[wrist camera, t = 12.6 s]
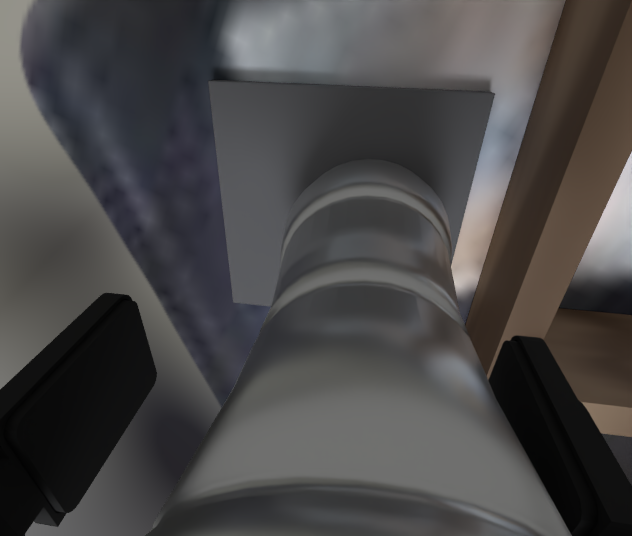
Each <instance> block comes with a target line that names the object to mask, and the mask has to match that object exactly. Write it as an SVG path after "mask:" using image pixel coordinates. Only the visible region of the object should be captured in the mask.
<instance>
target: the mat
mask: <svg viewBox="0 0 632 536" xmlns="http://www.w3.org/2000/svg"><path fill="white" fill-rule="evenodd" d="M208 84H209V92H210V101H211V110H212V119H213V128H214V136H215V145H216V154H217V163H218V172H219V180H220V189H221V198H222V207H223V216H224V224H225V233H226V242H227V251H228V259H229V268H230V277H231V286H232V295H233V302H234V303H244V304H253V305H263V306H271V305H272V301H273V297H274V293H275V289H276V285H277V280H278V276H279V272H280V268H281V245H282V239H283V233H284V229H285V225H286V220H287V217H288V215H289V213H290V211H291V208H292V206H293V204H294V203H295V201H296V200H297V199H298V197H299V196H300V195H301V194H302V192H303V191H304V190H305V189H306V188H307V187H308V186H310V185H311V184H312V183H313V182H314V181H315V180H317V179H318V178H319V177H320V176H321V175H323V174H324V173H325V172H327V171H329V170H331V169H332V168H334V167H336V166H338V165H341V164H344V163H347V162H350V161H355V160H363V159H376V160H385V161H388V162H392V163H395V164H399V165H400V166H402V167H404V168H406V169H408V170H410V171H412V172H413V173H414V174H416V175H417V176H418V177H419V178H421V179H422V180H423V181H424V182H425V183H426V184H428V185H429V186H430V187H431V188H432V189H433V190H434V192H435V193H436V195H437V196H438V197H439V199H440V200H441V201H442V204H443V206H444V208H445V211H446V213H447V216H448V221H449V227H450V234H451V243H452V258H451V264H452V260H453V256H454V252H455V248H456V244H457V240H458V236H459V232H460V228H461V224H462V221H463V217H464V213H465V209H466V205H467V201H468V197H469V193H470V189H471V185H472V181H473V177H474V174H475V170H476V166H477V162H478V158H479V154H480V150H481V146H482V142H483V138H484V134H485V130H486V127H487V123H488V119H489V115H490V111H491V107H492V103H493V99H494V95H495V93H492V92H485V91H461V90H438V89H415V88H391V87H368V86H345V85H321V84H298V83H275V82H252V81H228V80H211V81H208Z"/></svg>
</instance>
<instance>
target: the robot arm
mask: <svg viewBox="0 0 632 536" xmlns="http://www.w3.org/2000/svg"><path fill="white" fill-rule="evenodd" d="M156 377H157V372H156V368H155V365H154V361H153V358H152V354H151V351H150V347H149V344H148V340H147V337H146V333H145V330H144V326H143V323H142V320H141V316H140V312H139V309H138V306H137V303H136V302H135V301H132V299H131V297H130V296H129V295H124V294H114V293H104V294H102V295H101V296H100V297H99V298H98V299H97V300H96V301H94V302H93V303H92V304H91V305H90V306H89V307H88V308H87V309H86V310H85V311H84V312H83V313H82V314H81V315H80V316H78V317H77V319H75V320H74V321H73V322H72V323H71V324H70V325H69V326H68V327H67V328H66V329H65V330H64V331H62V332H61V333H60V334H59V335H58V336H57V337H56V338H55V339H54V340H53V341H52V342H51V343H50V344H48V345H47V346H46V347H45V348H44V349H43V350H42V351H41V352H40V353H39V354H38V355H37V356H36V357H35V358H34V359H32V360H31V361H30V362H29V364H27V365H26V366H25V367H24V368H23V369H22V370H21V371H20V372H19V373H18V374H17V375H16V376H14V377H13V378H12V379H11V380H10V381H9V382H8V383H7V384H6V385H5V386H4V387H3V388H2V389H0V536H25V533H26V531H27V530H28V528H29V527H30V526H31V524H32V523H33V521H34V522H35V523H39V524H45V525H50V526H56V527H58V526H59V524H60V522H61V521H62V520H63V518H64V516H65V515H66V513H69V512H71V511H73V509H75V508H76V506H77V505H78V504H79V502H80V501H81V499H82V497H83V496H84V494H85V493H86V491H87V490H88V488H89V487H90V485H91V483H92V482H93V480H94V479H95V477H96V476H97V474H98V472H99V471H100V469H101V467H102V466H103V465H104V463H105V461H106V460H107V458H108V457H109V455H110V454H111V452H112V450H113V449H114V447H115V446H116V444H117V443H118V441H119V439H120V438H121V436H122V435H123V433H124V431H125V430H126V428H127V427H128V425H129V424H130V422H131V420H132V419H133V417H134V416H135V414H136V413H137V411H138V409H139V408H140V406H141V405H142V403H143V401H144V400H145V398H146V397H147V395H148V394H149V392H150V390H151V389H152V387H153V386H154V384H155V381H156ZM488 381H489V383H490V386H491V388H492V391H493V393H494V395H495V398H496V400H497V402H498V403H499V405H500V407H501V409H502V411H503V412H504V414H505V416H506V418H507V420H508V421H509V423H510V425H511V427H512V429H513V430H514V432H515V434H516V436H517V438H518V439H519V441H520V443H521V445H522V447H523V448H524V450H525V452H526V454H527V456H528V457H529V459H530V461H531V463H532V465H533V466H534V468H535V470H536V472H537V474H538V476H539V477H540V479H541V481H542V483H543V485H544V486H545V488H546V490H547V492H548V494H549V495H550V497H551V499H552V501H553V503H554V504H555V506H556V508H557V510H558V512H559V513H560V515H561V517H562V519H563V521H564V522H565V524H566V526H567V528H568V530H569V531H570V533H571V535H572V536H632V486H631V484H630V482H629V481H628V479H627V477H626V475H625V474H624V472H623V470H622V469H621V467H620V465H619V463H618V462H617V460H616V458H615V457H614V455H613V453H612V451H611V450H610V448H609V446H608V444H607V443H606V441H605V439H604V438H603V436H602V434H601V432H600V431H599V429H598V427H597V426H596V424H595V422H594V420H593V419H592V417H591V415H590V413H589V412H588V410H587V409H586V407H585V406H584V405H583V403H582V402H580V401H579V400H578V399H577V397H576V395H575V393H574V392H573V390H572V388H571V386H570V385H569V383H568V381H567V379H566V378H565V376H564V374H563V372H562V371H561V369H560V367H559V365H558V364H557V362H556V360H555V358H554V357H553V355H552V353H551V351H550V350H549V348H548V346H547V344H546V343H545V341H544V340H543V339H542V338H538V337H528V336H519V335H515V336H513V337H512V338H511V340H510V341H508V340H506V341H504V342H503V344H502V347H501V349H500V352H499V354H498V357H497V359H496V362H495V365H494V367H493V370H492V372H491V375H490V377H489V380H488Z"/></svg>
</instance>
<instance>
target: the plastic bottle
mask: <svg viewBox="0 0 632 536" xmlns="http://www.w3.org/2000/svg"><path fill="white" fill-rule="evenodd" d="M451 258H452V243H451V234H450V227H449V221H448V216H447V213H446V211H445V208H444V206H443V204H442V201H441V200H440V199H439V197H438V196H437V195H436V193H435V192H434V190H433V189H432V188H431V187H430V186H429V185H428V184H426V183H425V182H424V181H423V180H422V179H421V178H419V177H418V176H417V175H416V174H414V173H413V172H412V171H410V170H408V169H406V168H404V167H402V166H400V165H399V164H395V163H392V162H388V161H385V160H376V159H363V160H355V161H350V162H347V163H344V164H341V165H338V166H336V167H334V168H332V169H331V170H329V171H327V172H325V173H324V174H323V175H321V176H320V177H319V178H318V179H317V180H315V181H314V182H313V183H312V184H311V185H310V186H308V187H307V188H306V189H305V190H304V191H303V192H302V194H301V195H300V196H299V197H298V199H297V200H296V201H295V203H294V204H293V206H292V208H291V211H290V213H289V215H288V217H287V220H286V225H285V229H284V233H283V239H282V245H281V268H280V272H279V276H278V280H277V285H276V289H275V293H274V297H273V301H272V305H271V309H270V311H269V313H268V315H267V317H266V319H265V321H264V323H263V326H262V328H261V330H260V334H259V336H258V337H257V339H256V341H255V343H254V345H253V347H252V349H251V351H250V353H249V356H248V358H247V360H246V362H245V364H244V366H243V369H242V371H241V373H240V375H239V377H238V379H237V382H236V384H235V386H234V388H233V390H232V392H231V393H230V395H229V397H228V398H227V400H226V402H225V403H224V405H223V407H222V408H221V410H220V412H219V413H218V415H217V417H216V418H215V420H214V422H213V423H212V425H211V427H210V428H209V430H208V432H207V434H206V435H205V437H204V439H203V440H202V442H201V444H200V445H199V447H198V449H197V450H196V452H195V454H194V455H193V457H192V459H191V461H190V462H189V464H188V465H187V467H186V469H185V471H184V472H183V474H182V476H181V477H180V479H179V481H178V482H177V484H176V486H175V487H174V489H173V491H172V492H171V494H170V496H169V497H168V499H167V501H166V502H165V504H164V506H163V507H162V509H161V511H160V513H159V515H158V517H157V519H156V520H155V522H154V524H153V528H152V530H151V531H150V532H149V533H148V534H146V535H145V536H572V535H571V533H570V531H569V530H568V528H567V526H566V524H565V522H564V521H563V519H562V517H561V515H560V513H559V512H558V510H557V508H556V506H555V504H554V503H553V501H552V499H551V497H550V495H549V494H548V492H547V490H546V488H545V486H544V485H543V483H542V481H541V479H540V477H539V476H538V474H537V472H536V470H535V468H534V466H533V465H532V463H531V461H530V459H529V457H528V456H527V454H526V452H525V450H524V448H523V447H522V445H521V443H520V441H519V439H518V438H517V436H516V434H515V432H514V430H513V429H512V427H511V425H510V423H509V421H508V420H507V418H506V416H505V414H504V412H503V411H502V409H501V407H500V405H499V403H498V402H497V400H496V398H495V395H494V393H493V391H492V388H491V386H490V383H489V381H488V379H487V376H486V374H485V372H484V369H483V367H482V364H481V362H480V360H479V357H478V355H477V353H476V351H475V348H474V346H473V344H472V342H471V339H470V336H469V334H468V331H467V329H466V327H465V324H464V322H463V320H462V317H461V315H460V312H459V307H458V302H457V297H456V291H455V286H454V281H453V276H452V270H451Z"/></svg>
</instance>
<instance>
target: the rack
mask: <svg viewBox="0 0 632 536" xmlns="http://www.w3.org/2000/svg"><path fill="white" fill-rule="evenodd" d="M631 151H632V0H566V2H565V5H564V9H563V12H562V15H561V18H560V22H559V25H558V28H557V31H556V34H555V38H554V41H553V44H552V47H551V51H550V54H549V57H548V60H547V63H546V67H545V70H544V73H543V76H542V80H541V83H540V86H539V89H538V92H537V96H536V99H535V102H534V105H533V109H532V112H531V115H530V118H529V122H528V125H527V128H526V131H525V134H524V138H523V141H522V144H521V147H520V151H519V154H518V157H517V160H516V163H515V167H514V170H513V173H512V176H511V180H510V183H509V186H508V189H507V192H506V196H505V199H504V202H503V205H502V209H501V212H500V215H499V218H498V221H497V225H496V228H495V231H494V234H493V238H492V241H491V244H490V247H489V250H488V254H487V257H486V260H485V263H484V267H483V270H482V273H481V276H480V279H479V283H478V286H477V289H476V292H475V296H474V299H473V302H472V305H471V309H470V312H469V315H468V318H467V321H466V325H465V327H466V329H467V331H468V334H469V336H470V339H471V342H472V344H473V346H474V348H475V351H476V353H477V355H478V357H479V360H480V362H481V364H482V367H483V369H484V372H485V374H486V376H487V379H488V380H489V377H490V375H491V372H492V370H493V367H494V365H495V362H496V359H497V357H498V354H499V352H500V349H501V347H502V344H503V342H504V341H506V340H508V341H510V340H511V338H512V337H513V336H515V335H519V336H528V337H538V338H542V339H543V340H544V341H545V343H546V344H547V346H548V348H549V350H550V351H551V353H552V355H553V357H554V358H555V360H556V362H557V364H558V365H559V367H560V369H561V371H562V372H563V374H564V376H565V378H566V379H567V381H568V383H569V385H570V386H571V388H572V390H573V392H574V393H575V395H576V397H577V399H578V400H579V401H580V402H582V403H583V405H584V406H585V407H586V409H587V410H588V412H589V413H590V415H591V417H592V419H593V420H594V422H595V424H596V426H597V427H598V429H599V431H600V432H601V433H604V434H612V435H620V436H628V437H632V315H626V314H615V313H605V312H594V311H584V310H574V309H563V308H559V305H560V303H561V301H562V299H563V297H564V295H565V293H566V290H567V288H568V286H569V284H570V282H571V280H572V278H573V276H574V273H575V271H576V269H577V267H578V265H579V263H580V261H581V258H582V256H583V254H584V252H585V250H586V248H587V246H588V243H589V241H590V239H591V237H592V235H593V233H594V231H595V228H596V226H597V224H598V222H599V220H600V218H601V216H602V213H603V211H604V209H605V207H606V205H607V203H608V201H609V198H610V196H611V194H612V192H613V190H614V188H615V186H616V183H617V181H618V179H619V177H620V175H621V173H622V171H623V168H624V166H625V164H626V162H627V160H628V158H629V156H630V154H631Z"/></svg>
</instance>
